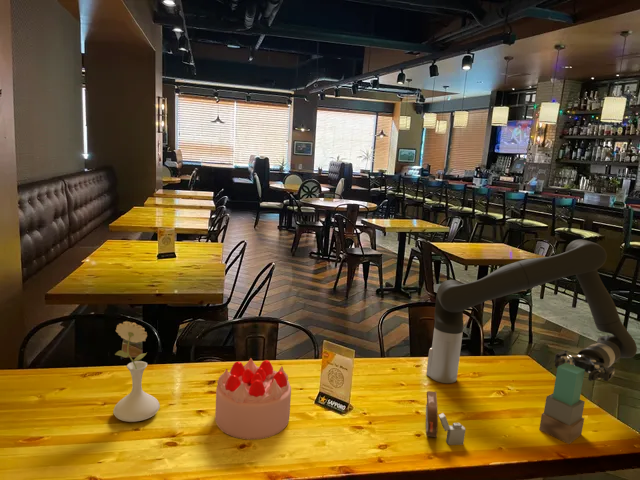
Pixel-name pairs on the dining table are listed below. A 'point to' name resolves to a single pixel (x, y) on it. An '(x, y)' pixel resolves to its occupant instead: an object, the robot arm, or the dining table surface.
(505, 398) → the dining table surface
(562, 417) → the grey square block
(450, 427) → the lighter
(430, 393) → the tin
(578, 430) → the walnut base block
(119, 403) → the flower in vase
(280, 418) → the cake
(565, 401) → the teal pillar
